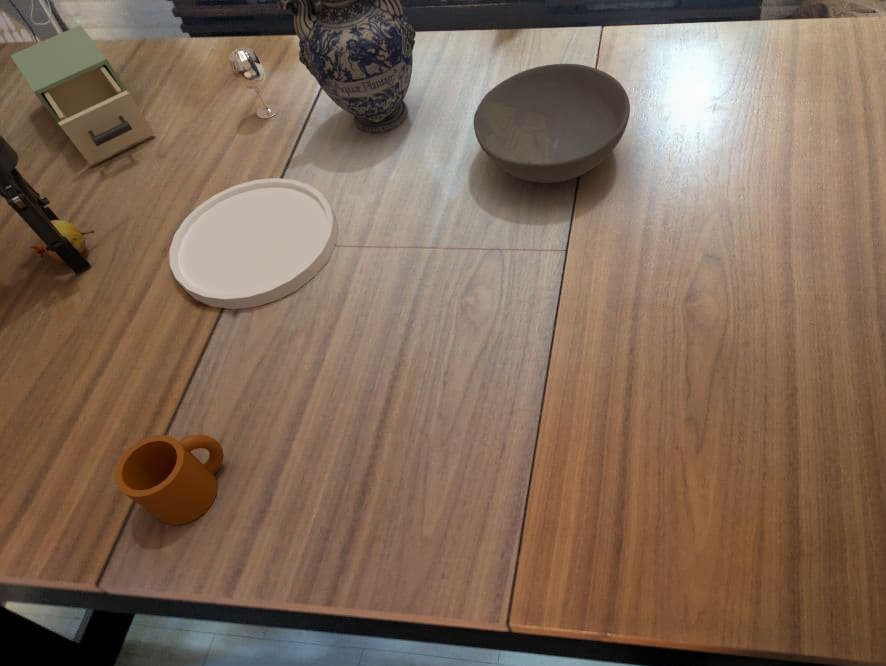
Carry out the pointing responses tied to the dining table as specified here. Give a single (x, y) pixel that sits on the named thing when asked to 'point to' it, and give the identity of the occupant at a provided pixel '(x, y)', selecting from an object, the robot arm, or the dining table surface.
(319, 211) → the plate
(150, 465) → the mug
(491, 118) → the bowl
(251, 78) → the wineglass
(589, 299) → the dining table surface
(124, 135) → the drawer
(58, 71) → the cabinet
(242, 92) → the dining table surface
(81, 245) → the fruit
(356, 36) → the decorative vase
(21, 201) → the robot arm
